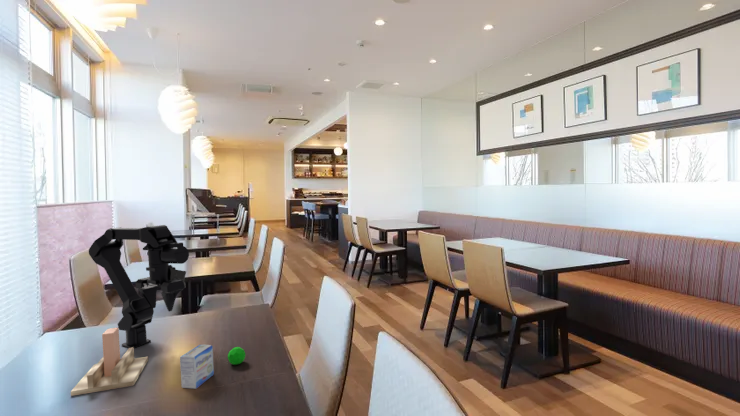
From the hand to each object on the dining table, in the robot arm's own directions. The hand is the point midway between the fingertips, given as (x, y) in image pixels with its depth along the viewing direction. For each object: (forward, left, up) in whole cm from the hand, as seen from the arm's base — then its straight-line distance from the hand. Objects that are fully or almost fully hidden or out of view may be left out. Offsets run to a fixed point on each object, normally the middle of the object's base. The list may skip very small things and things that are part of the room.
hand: (161, 309), depth 123 cm
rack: (+5, -19, -13) cm, 23 cm away
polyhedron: (+32, +1, -13) cm, 35 cm away
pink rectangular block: (+5, -19, -12) cm, 23 cm away
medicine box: (+30, -11, -13) cm, 34 cm away
